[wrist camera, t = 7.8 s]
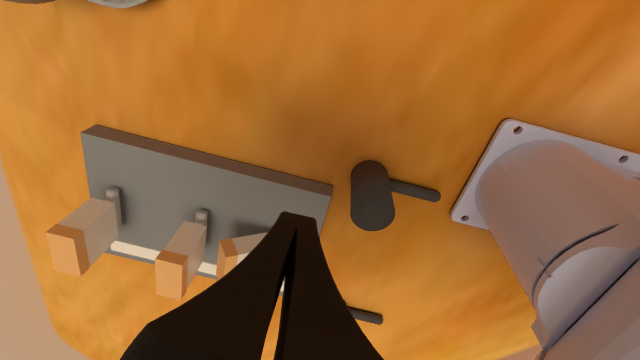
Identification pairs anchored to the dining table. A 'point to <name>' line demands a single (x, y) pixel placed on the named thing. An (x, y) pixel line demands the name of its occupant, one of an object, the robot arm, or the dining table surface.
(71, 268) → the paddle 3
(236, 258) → the tan rectangular block
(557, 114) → the dining table surface
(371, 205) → the dark cylinders with handles
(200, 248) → the orange and brown block
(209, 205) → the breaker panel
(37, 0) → the ceramic mug
